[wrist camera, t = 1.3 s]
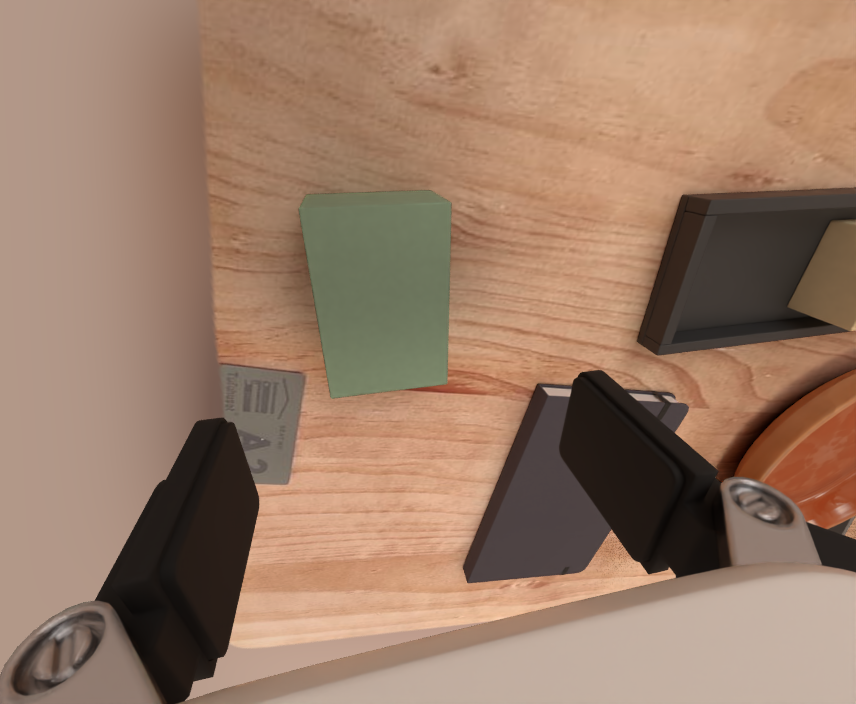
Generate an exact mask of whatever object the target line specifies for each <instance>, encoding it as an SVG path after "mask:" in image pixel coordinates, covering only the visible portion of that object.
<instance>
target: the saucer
mask: <svg viewBox="0 0 856 704" xmlns="http://www.w3.org/2000/svg"><path fill="white" fill-rule="evenodd" d="M734 477H746V478H750V479H755V480H758V481H760V482H763V483H765V484H768V485H770V486H771V487H773V488H775V489H777V490H779V491H780V492H782V493H783V494H784V495H786V496H787V497H789V498H790V499H791V500H792V501H793V502H794V503H795V504H796V505H797V506H798V507H799V509H800V510H801V512H802V514H803V515H804V518H805V521H806V522H809V523H811V524H814V525H817V526H820V527H822V528H825V529H829V528H831V527H834V526H836V525H838V524H840V523H842V522H844V521H846V520H848V519H850V518H852V517H854V516H856V369H855V370H852V371H850V372H847V373H845V374H843V375H841V376H839V377H837V378H835V379H833V380H831V381H829V382H827V383H825V384H823V385H822V386H820V387H818V388H817V389H815V390H814V391H812V392H810V393H809V394H807V395H806V396H804V397H803V398H801V399H800V400H799V401H797V402H796V403H795V404H793V405H792V406H791V407H789V408H788V409H787V410H786V411H785V412H783V413H782V414H781V415H780V416H779V417H778V418H776V419H775V420H774V421H773V422H772V423H771V424H770V425H769V426H768V427H767V428H766V429H765V430H764V432H763V433H762V434H761V435H760V436H759V437H758V438H757V439H756V441H755V442H754V443H753V444H752V445H751V447H750V448H749V449H748V451H747V452H746V454H745V455H744V457H743V458H742V460H741V462H740V464H739V466H738V468H737V470H736V472H735V475H734Z"/></svg>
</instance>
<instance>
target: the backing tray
mask: <svg viewBox="0 0 856 704" xmlns="http://www.w3.org/2000/svg"><path fill="white" fill-rule="evenodd" d="M846 219H856V188H840V189H815V190H791V191H766V192H741V193H717V194H692V195H683V196H682V199H681V202H680V205H679V208H678V212H677V215H676V218H675V221H674V224H673V228H672V231H671V234H670V237H669V240H668V244H667V247H666V250H665V253H664V257H663V260H662V263H661V266H660V269H659V273H658V276H657V279H656V282H655V285H654V289H653V292H652V295H651V298H650V302H649V305H648V308H647V311H646V314H645V318H644V321H643V324H642V327H641V330H640V334H639V337H638V340H637V342H638V343H639V344H641V345H643V346H644V347H646V348H647V349H648V350H650V351H651V352H653V353H654V354H656V355H666V354H674V353H682V352H690V351H698V350H706V349H714V348H722V347H730V346H738V345H746V344H754V343H762V342H770V341H778V340H786V339H794V338H802V337H810V336H818V335H826V334H834V333H842V332H850V331H848V330H846V329H843V328H841V327H838V326H835V325H833V324H830V323H828V322H825V321H822V320H820V319H817V318H814V317H812V316H809V315H807V314H804V313H801V312H799V311H796V310H793V309H791V308H788V307H787V305H788V304H789V302H790V300H791V298H792V296H793V294H794V292H795V290H796V288H797V286H798V284H799V282H800V280H801V278H802V276H803V274H804V272H805V270H806V268H807V266H808V264H809V263H810V261H811V259H812V257H813V255H814V253H815V251H816V249H817V247H818V245H819V243H820V241H821V239H822V237H823V235H824V233H825V231H826V229H827V227H828V225H829V223H830V222H831V221H832V220H846Z"/></svg>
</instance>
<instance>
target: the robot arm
mask: <svg viewBox="0 0 856 704" xmlns="http://www.w3.org/2000/svg"><path fill="white" fill-rule="evenodd" d="M559 452H560V455H561V458H562V459H563V461H564V462H565V464H566V465H567V466H568V468H569V469H570V471H571V472H572V474H573V475H574V476H575V478H576V479H577V481H578V482H579V483H580V485H581V486H582V488H583V489H584V491H585V492H586V493H587V495H588V496H589V498H590V499H591V501H592V502H593V503H594V505H595V506H596V508H597V509H598V511H599V512H600V513H601V515H602V516H603V518H604V519H605V520H606V522H607V523H608V525H609V526H610V528H611V529H612V530H613V532H614V533H615V535H616V536H617V538H618V539H619V540H620V542H621V543H622V545H623V546H624V548H625V549H626V550H627V552H628V553H629V555H630V556H631V557H632V558H633V559H634V560H635V561H637V562H640V563H641V564H642V566H643V567H644V569H645V570H646V571H647V573H648V574H652V573H657V572H661V571H665V570H668V568H669V567H670V568H671V570H672V571H673V572H674V573H675V575H676V578H674V579H670V580H665V581H661V582H657V583H652V584H648V585H644V586H639V587H635V588H631V589H627V590H622V591H618V592H614V593H610V594H605V595H601V596H597V597H592V598H588V599H584V600H580V601H575V602H571V603H567V604H563V605H559V606H554V607H550V608H546V609H542V610H538V611H534V612H529V613H525V614H521V615H517V616H513V617H508V618H504V619H500V620H496V621H492V622H488V623H484V624H479V625H476V626H471V627H467V628H463V629H459V630H455V631H450V632H446V633H442V634H438V635H434V636H430V637H426V638H422V639H418V640H413V641H410V642H406V643H401V644H398V645H393V646H389V647H385V648H381V649H377V650H373V651H369V652H365V653H361V654H357V655H353V656H348V657H344V658H340V659H337V660H332V661H328V662H324V663H320V664H316V665H312V666H308V667H304V668H300V669H297V670H293V671H289V672H286V673H282V674H278V675H274V676H270V677H267V678H263V679H259V680H256V681H251V682H248V683H244V684H240V685H237V686H233V687H229V688H225V689H222V690H219V691H215V692H212V693H209V694H206V695H203V696H200V697H197V698H193V699H190V700H187V701H185V700H186V699H187V698H188V697H189V695H190V692H191V688H192V684H193V681H198V680H202V679H206V678H210V677H213V675H214V671H215V667H216V662H217V659H218V658H220V657H224V655H225V654H226V652H227V649H228V645H229V641H230V636H231V632H232V627H233V623H234V618H235V614H236V609H237V605H238V600H239V596H240V591H241V587H242V582H243V578H244V574H245V569H246V565H247V560H248V556H249V551H250V547H251V542H252V538H253V533H254V529H255V524H256V520H257V515H258V511H259V496H258V492H257V489H256V486H255V483H254V480H253V477H252V474H251V471H250V468H249V465H248V462H247V459H246V456H245V453H244V451H243V448H242V445H241V442H240V439H239V436H238V433H237V430H236V427H235V424H234V423H232V422H230V423H227V421H226V420H225V419H224V418H216V419H207V420H201V421H197V422H196V423H195V425H194V427H193V429H192V431H191V432H190V434H189V436H188V439H187V440H186V442H185V444H184V446H183V448H182V450H181V452H180V454H179V456H178V458H177V460H176V461H175V463H174V465H173V467H172V469H171V471H170V473H169V475H168V477H167V479H166V480H163V481H162V482H160V483H159V484H158V485H157V487H156V488H155V489H154V491H153V493H152V495H151V497H150V499H149V501H148V503H147V504H146V506H145V508H144V510H143V512H142V514H141V515H140V517H139V519H138V521H137V523H136V525H135V527H134V529H133V530H132V532H131V534H130V536H129V538H128V540H127V542H126V544H125V545H124V547H123V549H122V551H121V553H120V555H119V556H118V558H117V560H116V562H115V564H114V566H113V568H112V569H111V571H110V573H109V575H108V577H107V579H106V581H105V582H104V584H103V586H102V588H101V590H100V592H99V594H98V596H97V597H96V599H95V601H90V602H83V603H80V604H78V605H75V606H72V607H69V608H67V609H65V610H63V611H62V612H60V613H58V614H57V615H55V616H53V617H51V618H50V619H48V620H47V621H46V622H44V623H43V624H42V625H40V626H39V627H38V628H37V629H35V630H34V631H33V632H32V633H31V634H30V635H29V636H28V637H27V638H26V639H25V640H24V641H23V642H22V643H21V644H20V645H19V646H18V647H17V648H16V650H15V651H14V652H13V654H12V655H11V657H10V658H9V660H8V661H7V662H6V664H5V665H4V668H3V670H2V672H1V674H0V704H856V540H855V539H853V538H850V537H847V536H844V535H842V534H839V533H836V532H833V531H831V530H828V529H825V528H822V527H820V526H817V525H814V524H811V523H809V522H806V521H805V518H804V515H803V514H802V512H801V510H800V509H799V507H798V506H797V505H796V504H795V503H794V502H793V501H792V500H791V499H790V498H789V497H787V496H786V495H784V494H783V493H782V492H780V491H779V490H777V489H775V488H773V487H771V486H770V485H768V484H765V483H763V482H760V481H758V480H755V479H750V478H746V477H731V478H727V479H725V480H724V481H723V482H722V483H721V482H719V481H718V480H717V479H716V478H715V477H716V475H717V473H718V470H717V469H716V468H714V467H713V466H712V465H711V464H710V463H709V462H707V461H706V460H705V459H704V458H703V457H702V456H701V455H699V454H698V453H697V452H696V451H695V450H694V449H692V448H691V447H690V446H689V445H688V444H687V443H686V442H684V441H683V440H682V439H681V438H680V437H679V436H677V435H676V434H675V433H674V432H673V431H672V430H671V429H669V428H668V427H667V426H666V425H665V424H664V423H662V422H661V421H660V420H659V419H658V418H657V417H656V416H654V415H653V414H652V413H651V412H650V411H649V410H647V409H646V408H645V407H644V406H643V405H642V404H641V403H639V402H638V401H637V400H636V399H635V398H634V397H632V396H631V395H630V394H629V393H628V392H627V391H626V390H624V389H623V388H622V387H621V386H620V385H619V384H617V383H616V382H615V381H614V380H613V379H612V378H611V377H609V376H608V375H607V374H606V373H605V372H603V371H602V370H596V371H588V372H582V373H580V374H579V375H578V378H575V379H574V381H573V384H572V389H571V394H570V398H569V403H568V407H567V412H566V417H565V421H564V426H563V430H562V435H561V440H560V444H559Z"/></svg>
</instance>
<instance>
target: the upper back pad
mask: <svg viewBox="0 0 856 704" xmlns="http://www.w3.org/2000/svg"><path fill="white" fill-rule="evenodd" d="M787 307H788V308H791V309H793V310H796V311H799V312H801V313H804V314H807V315H809V316H812V317H814V318H817V319H820V320H822V321H825V322H828V323H830V324H833V325H835V326H838V327H841V328H843V329H846V330H848V331H856V219H846V220H832V221H831V222H830V223H829V225H828V227H827V229H826V231H825V233H824V235H823V237H822V239H821V241H820V243H819V245H818V247H817V249H816V251H815V253H814V255H813V257H812V259H811V261H810V263H809V264H808V266H807V268H806V270H805V272H804V274H803V276H802V278H801V280H800V282H799V284H798V286H797V288H796V290H795V292H794V294H793V296H792V298H791V300H790V302H789V304H788V305H787Z"/></svg>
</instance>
